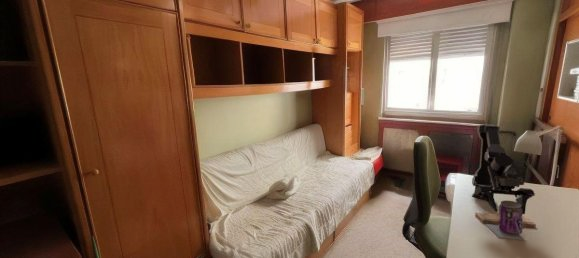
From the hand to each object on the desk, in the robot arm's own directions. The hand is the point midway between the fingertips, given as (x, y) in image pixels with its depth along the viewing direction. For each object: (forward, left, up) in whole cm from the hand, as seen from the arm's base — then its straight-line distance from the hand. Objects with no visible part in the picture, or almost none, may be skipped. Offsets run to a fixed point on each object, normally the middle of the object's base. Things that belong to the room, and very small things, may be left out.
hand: (509, 212), depth 99 cm
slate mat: (-1, -1, -10) cm, 10 cm away
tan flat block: (-11, -2, -10) cm, 15 cm away
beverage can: (-2, +1, -9) cm, 9 cm away
